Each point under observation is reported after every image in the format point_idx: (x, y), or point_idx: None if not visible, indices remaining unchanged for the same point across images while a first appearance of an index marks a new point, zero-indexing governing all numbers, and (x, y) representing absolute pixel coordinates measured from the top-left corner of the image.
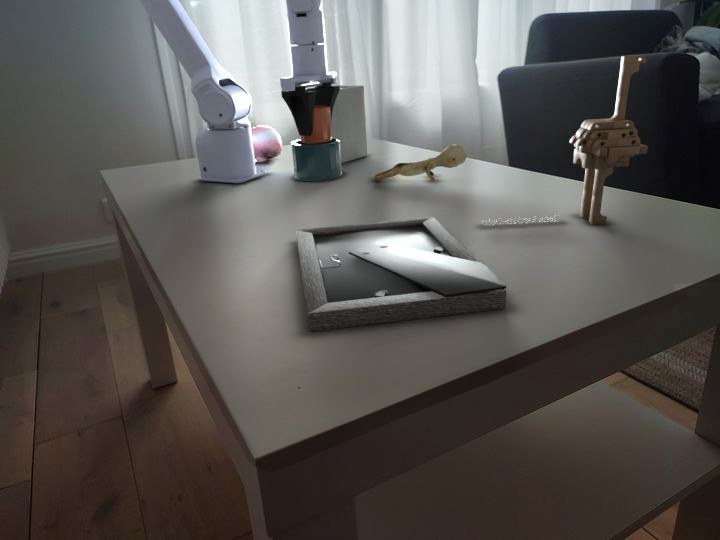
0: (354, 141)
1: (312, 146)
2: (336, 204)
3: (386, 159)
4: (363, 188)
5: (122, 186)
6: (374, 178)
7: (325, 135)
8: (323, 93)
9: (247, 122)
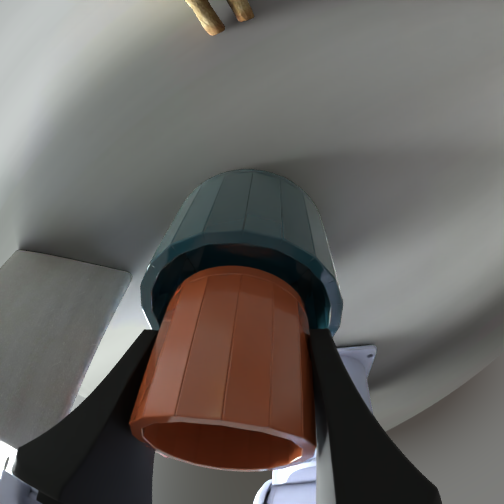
0: (26, 284)
1: (336, 281)
2: (501, 47)
3: (10, 183)
4: (350, 17)
5: (386, 426)
6: (252, 17)
7: (256, 289)
8: (113, 487)
9: (312, 468)
